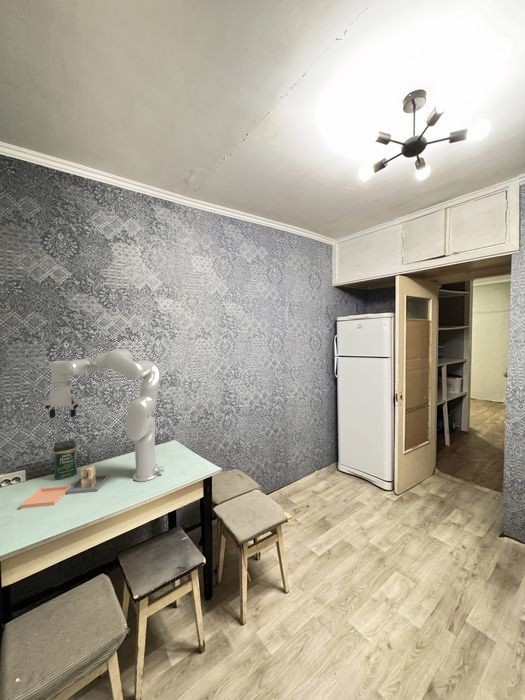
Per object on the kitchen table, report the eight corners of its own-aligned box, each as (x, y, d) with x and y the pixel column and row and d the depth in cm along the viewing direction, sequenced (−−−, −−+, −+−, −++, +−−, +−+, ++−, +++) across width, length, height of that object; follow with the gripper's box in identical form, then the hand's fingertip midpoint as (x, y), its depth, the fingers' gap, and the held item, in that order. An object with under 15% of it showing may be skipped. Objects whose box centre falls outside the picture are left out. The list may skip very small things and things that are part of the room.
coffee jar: (54, 482, 139) (52, 446, 138) (55, 476, 145) (53, 441, 144) (77, 476, 144) (75, 441, 143) (77, 470, 151) (75, 437, 150)
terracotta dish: (71, 489, 132) (70, 485, 132) (54, 506, 119) (54, 501, 119) (40, 492, 130) (40, 488, 130) (20, 509, 117) (20, 505, 117)
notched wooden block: (96, 482, 137) (95, 464, 136) (91, 487, 132) (90, 469, 132) (86, 483, 136) (85, 465, 136) (81, 488, 132) (80, 470, 131)
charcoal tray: (109, 478, 142) (109, 474, 142) (97, 492, 129) (97, 488, 129) (81, 480, 140) (81, 476, 140) (66, 495, 127) (66, 491, 127)
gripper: (83, 382, 147) (84, 414, 148) (47, 384, 145) (49, 416, 146) (75, 385, 140) (77, 418, 141) (38, 386, 137) (40, 420, 138)
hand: (63, 417), depth 143 cm, fingers open, 9 cm apart
